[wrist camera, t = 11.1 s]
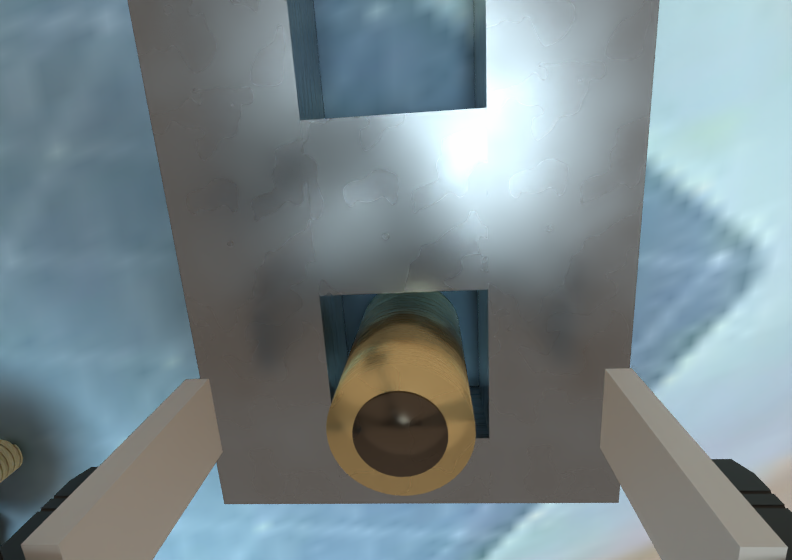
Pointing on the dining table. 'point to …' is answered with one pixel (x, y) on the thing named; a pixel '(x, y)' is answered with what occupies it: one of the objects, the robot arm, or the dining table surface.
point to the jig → (405, 232)
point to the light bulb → (9, 459)
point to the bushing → (404, 397)
